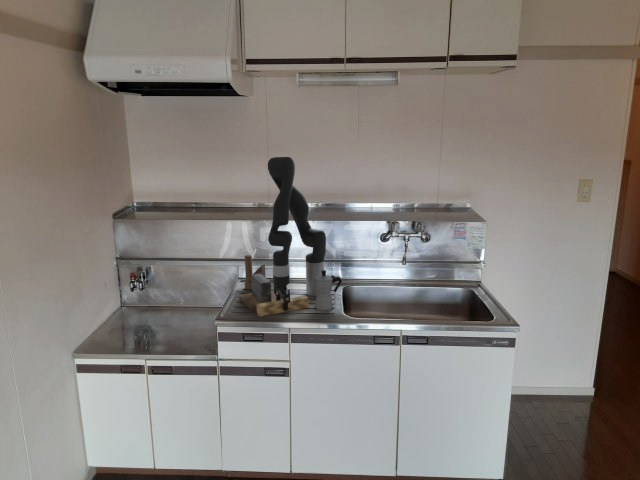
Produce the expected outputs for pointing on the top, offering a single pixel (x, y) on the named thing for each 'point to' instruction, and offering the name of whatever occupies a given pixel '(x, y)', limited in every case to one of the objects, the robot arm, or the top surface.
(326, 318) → the top surface
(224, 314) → the top surface
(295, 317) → the top surface
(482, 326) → the top surface
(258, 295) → the ridge stand
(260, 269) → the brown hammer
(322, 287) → the coffee maker
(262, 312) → the oak bar
